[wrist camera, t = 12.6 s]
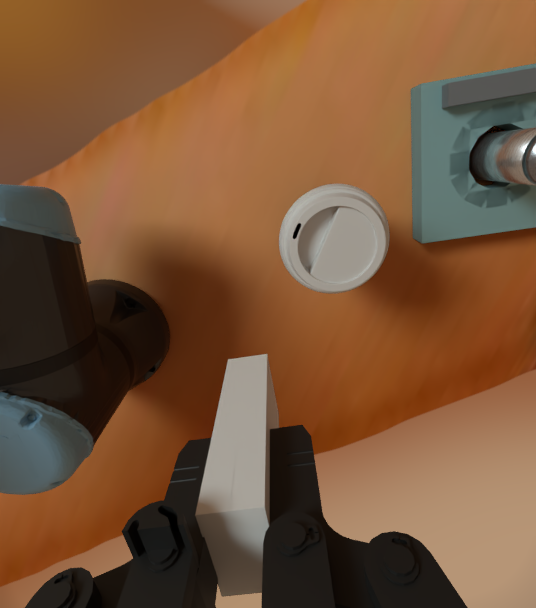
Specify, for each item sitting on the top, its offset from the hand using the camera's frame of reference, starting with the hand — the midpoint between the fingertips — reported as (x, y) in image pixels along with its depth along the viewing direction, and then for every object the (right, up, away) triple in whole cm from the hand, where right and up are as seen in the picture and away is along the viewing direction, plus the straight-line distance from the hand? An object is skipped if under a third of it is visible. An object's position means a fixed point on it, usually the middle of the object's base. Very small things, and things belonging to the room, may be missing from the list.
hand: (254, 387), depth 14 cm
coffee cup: (+7, +13, +30) cm, 34 cm away
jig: (+25, +20, +27) cm, 42 cm away
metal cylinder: (+25, +20, +27) cm, 42 cm away
